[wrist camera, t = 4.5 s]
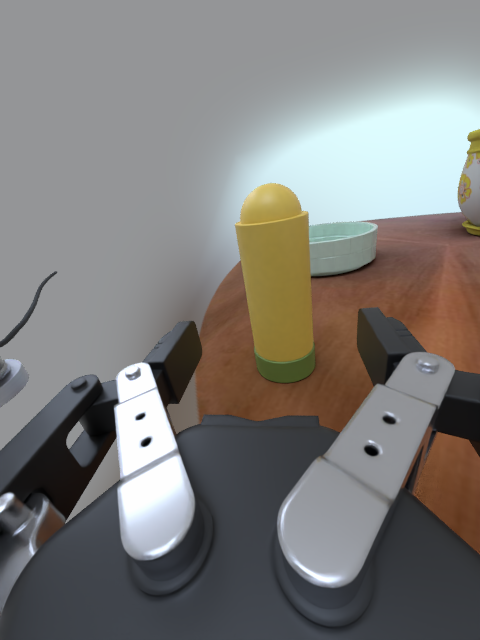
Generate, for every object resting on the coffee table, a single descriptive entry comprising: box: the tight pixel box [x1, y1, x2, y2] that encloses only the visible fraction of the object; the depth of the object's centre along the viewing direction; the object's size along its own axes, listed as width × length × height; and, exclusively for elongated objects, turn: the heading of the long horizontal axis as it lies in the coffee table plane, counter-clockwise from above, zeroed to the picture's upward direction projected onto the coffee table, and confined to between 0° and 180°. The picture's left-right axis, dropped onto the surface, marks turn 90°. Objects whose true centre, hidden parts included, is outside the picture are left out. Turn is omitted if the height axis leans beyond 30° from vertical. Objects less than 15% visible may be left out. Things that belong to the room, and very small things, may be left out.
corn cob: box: [235, 183, 315, 383], centre depth 19 cm, size 5×5×14 cm
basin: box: [309, 222, 378, 276], centre depth 45 cm, size 17×17×6 cm
